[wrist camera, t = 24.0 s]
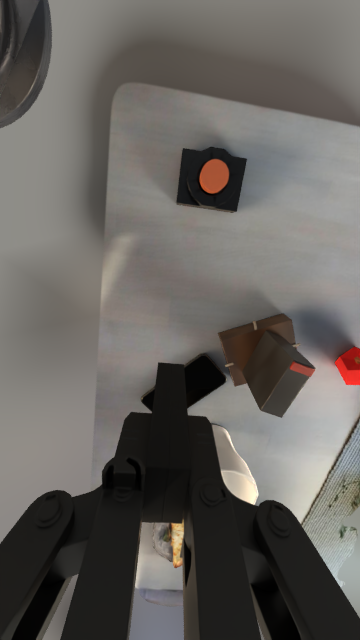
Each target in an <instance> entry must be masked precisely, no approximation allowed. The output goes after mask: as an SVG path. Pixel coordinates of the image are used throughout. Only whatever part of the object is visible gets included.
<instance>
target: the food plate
mask: <svg viewBox="0 0 360 640" xmlns="http://www.w3.org/2000/svg"><path fill="white" fill-rule="evenodd" d="M183 535H184V522H183V523H182V524H174V523H155V526H154V549H155V550H156V551H157V552H158V553H159V554H160V555H161V556H163V557H165V558H166V559H168V560H169V561H170V562H173V565H174V568H177V567H179V566H182V565H183V561H182V558H180V552H181V546H182V540H183Z"/></svg>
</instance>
